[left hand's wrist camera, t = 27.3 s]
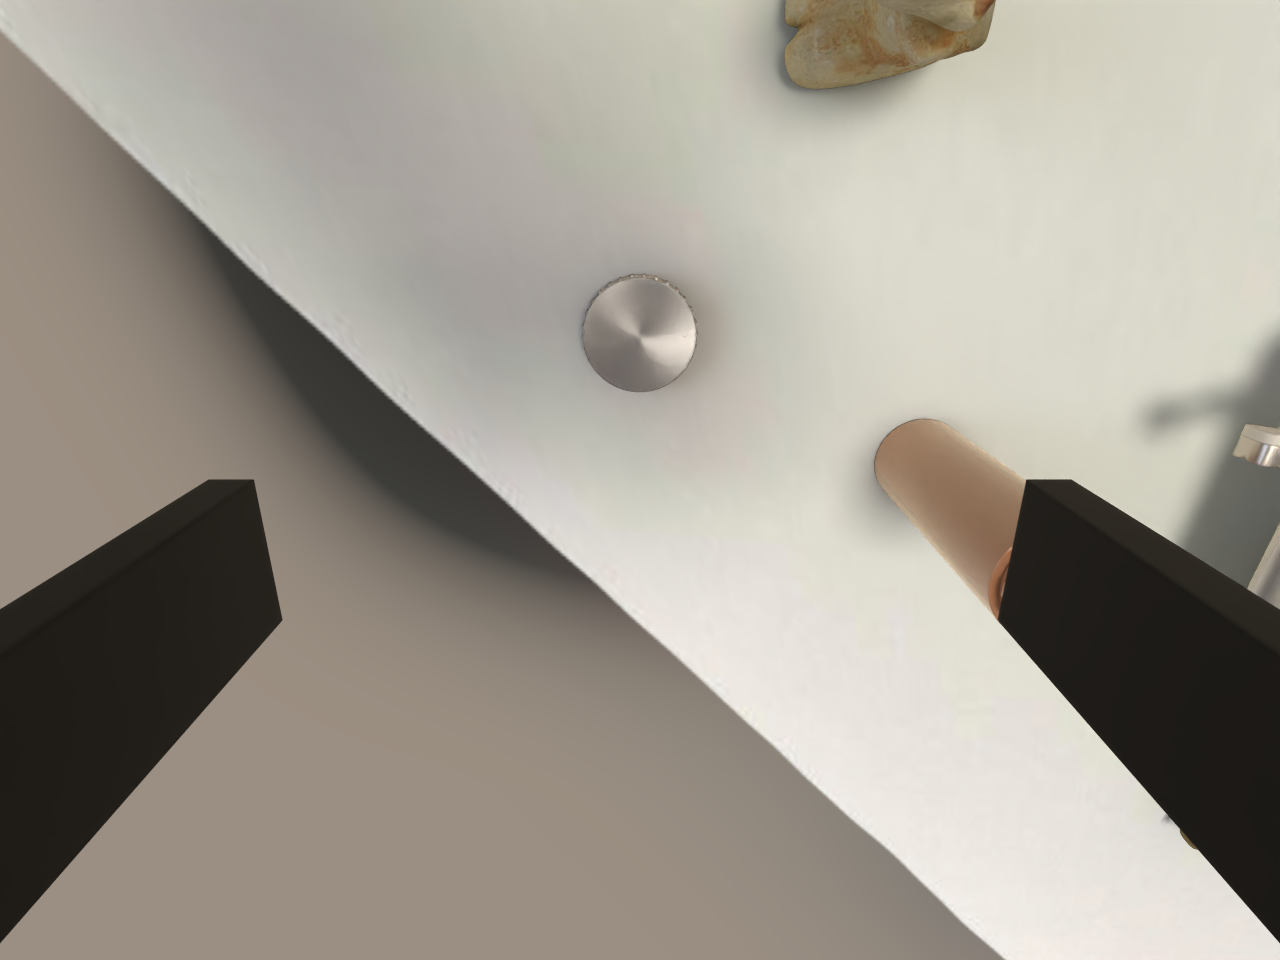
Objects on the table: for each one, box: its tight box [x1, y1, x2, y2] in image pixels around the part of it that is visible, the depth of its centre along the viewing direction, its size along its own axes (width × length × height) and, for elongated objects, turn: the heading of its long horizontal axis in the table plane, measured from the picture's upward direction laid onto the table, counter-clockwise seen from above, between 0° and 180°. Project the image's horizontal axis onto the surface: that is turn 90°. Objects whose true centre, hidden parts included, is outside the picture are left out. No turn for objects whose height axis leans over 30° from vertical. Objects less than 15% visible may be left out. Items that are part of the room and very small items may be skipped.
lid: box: [582, 274, 697, 392], centre depth 36 cm, size 6×6×2 cm
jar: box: [875, 419, 1026, 623], centre depth 32 cm, size 5×5×15 cm
